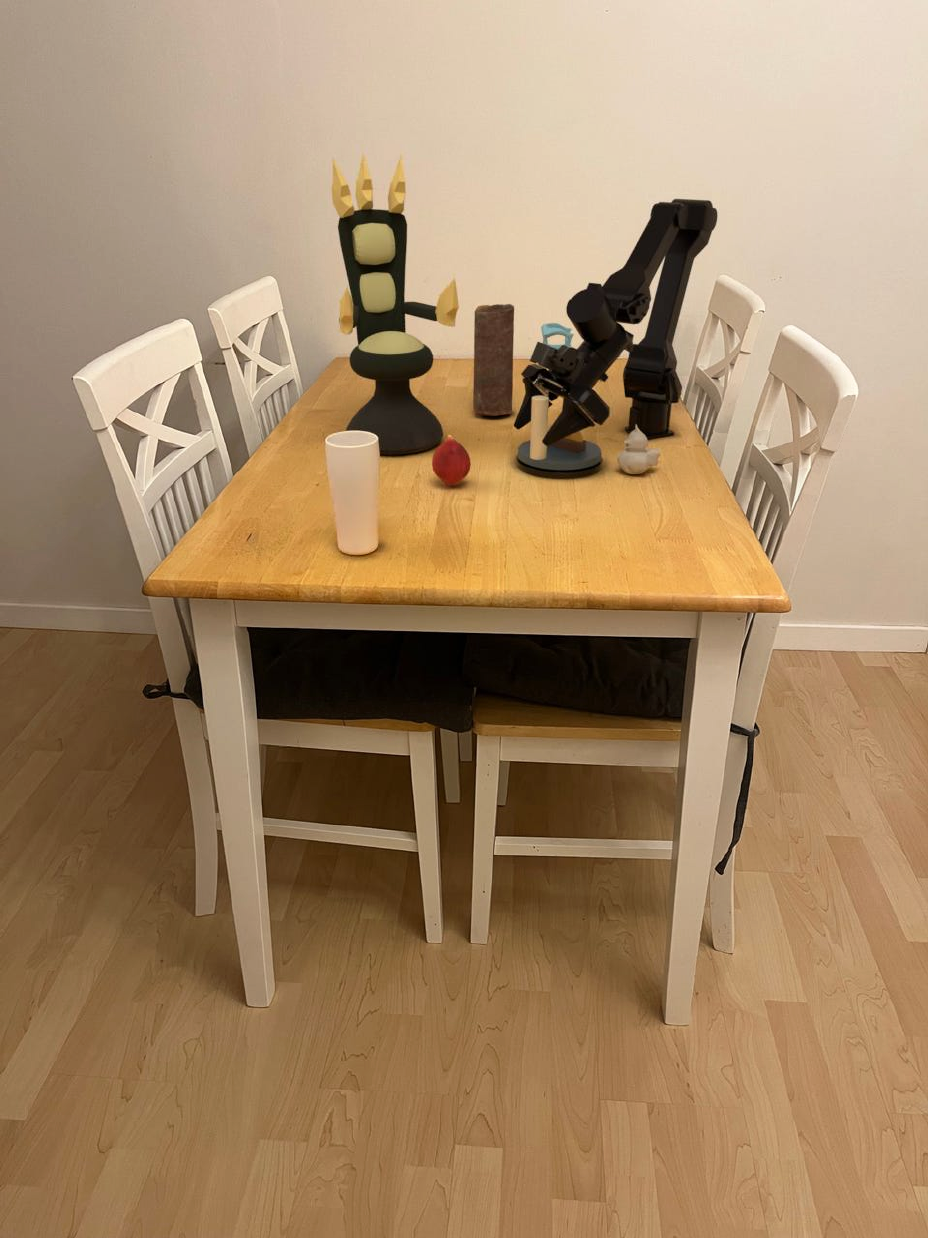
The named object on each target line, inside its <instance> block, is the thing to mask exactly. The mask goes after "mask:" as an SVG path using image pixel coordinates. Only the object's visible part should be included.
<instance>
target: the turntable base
mask: <svg viewBox="0 0 928 1238" xmlns="http://www.w3.org/2000/svg"><path fill="white" fill-rule="evenodd" d="M603 461H604V460H603V457H602V456H601V460H600V461H599V462H598V463H597V464H595V465H593V466H591V467H587V468H583V469H577V470H549V469H542V468H537V467H533V466H530V465H527V464H525V463H523V462H522V461H521V460H520V459H519V458H518V454H516V456H515V466H516V467H517V468H518V469H519V470H520V471H521V472H524V473H526V474H528V475H531V476H535V477H539V478H543V479H544V478H545V479H554V480H557V479H558V480H560V479H561V480H568V479H578V478H584V477H588V476H592V475H594V474H597V473H598V472H600V471H601V470H602V468H603V463H604V462H603Z"/></svg>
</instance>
